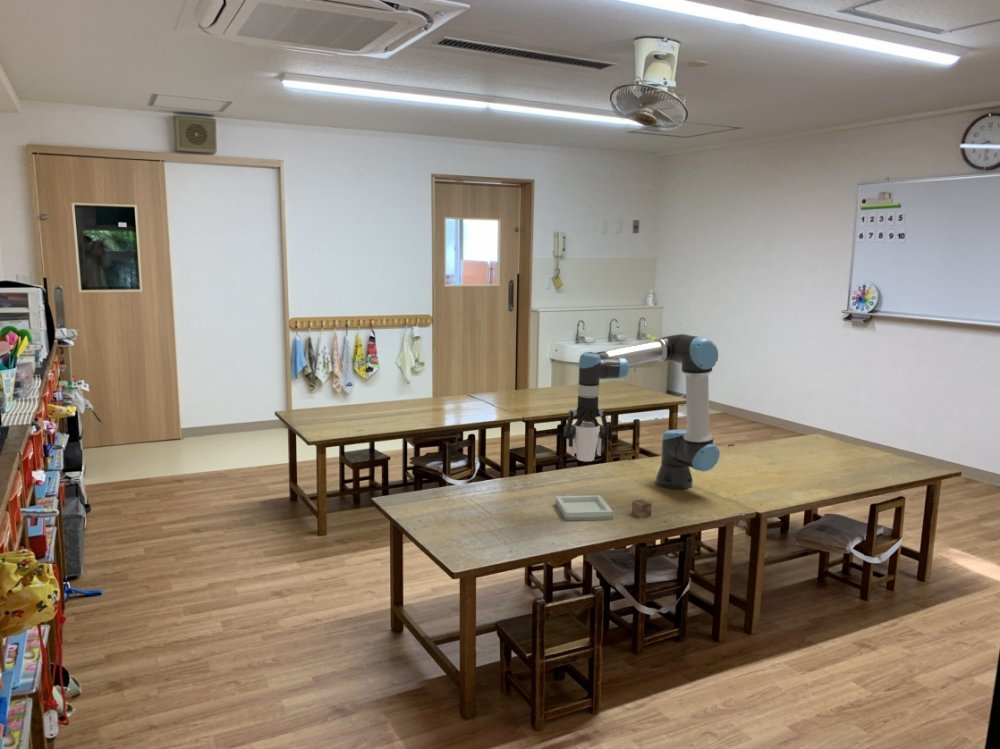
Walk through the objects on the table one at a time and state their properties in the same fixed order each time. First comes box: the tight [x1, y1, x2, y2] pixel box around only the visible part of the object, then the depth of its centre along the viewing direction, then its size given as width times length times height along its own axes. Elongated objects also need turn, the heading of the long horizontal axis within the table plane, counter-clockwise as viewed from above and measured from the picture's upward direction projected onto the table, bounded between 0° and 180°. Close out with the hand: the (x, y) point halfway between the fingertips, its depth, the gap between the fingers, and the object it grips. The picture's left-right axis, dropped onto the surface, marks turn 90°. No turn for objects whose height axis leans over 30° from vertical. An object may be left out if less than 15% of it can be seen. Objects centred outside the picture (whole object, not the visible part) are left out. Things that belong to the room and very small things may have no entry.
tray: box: [554, 494, 614, 522], centre depth 279 cm, size 18×18×3 cm
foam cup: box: [573, 421, 601, 462], centre depth 274 cm, size 10×9×13 cm
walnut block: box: [631, 498, 653, 519], centre depth 277 cm, size 5×5×5 cm
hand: (585, 454), depth 275 cm, fingers closed on foam cup, 9 cm apart
